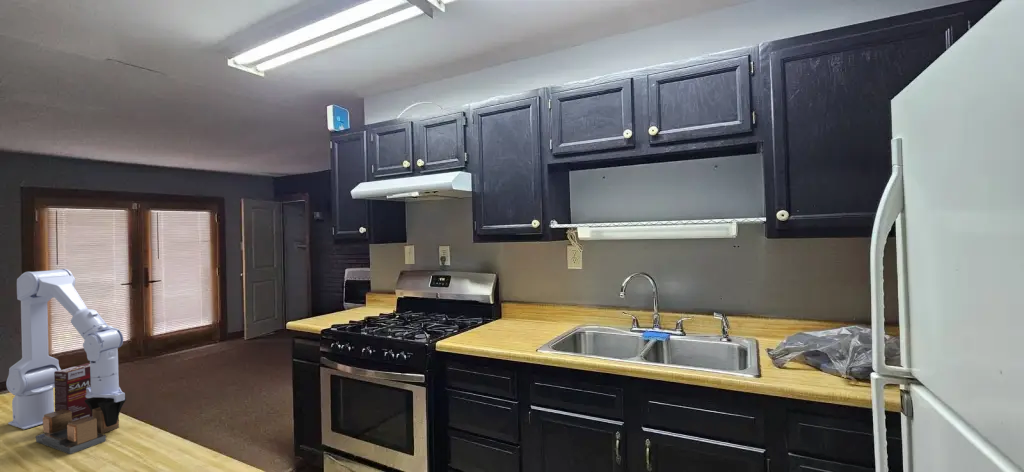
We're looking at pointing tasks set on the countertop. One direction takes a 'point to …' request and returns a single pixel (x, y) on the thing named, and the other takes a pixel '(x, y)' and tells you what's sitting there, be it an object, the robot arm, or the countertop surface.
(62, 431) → the rail
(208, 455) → the countertop surface
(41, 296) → the robot arm
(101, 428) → the brown wooden block
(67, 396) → the supplement box
